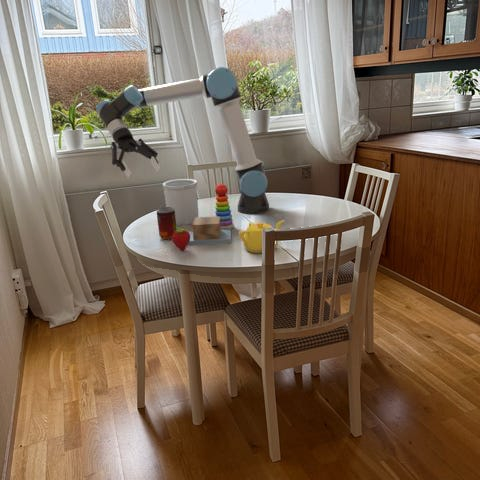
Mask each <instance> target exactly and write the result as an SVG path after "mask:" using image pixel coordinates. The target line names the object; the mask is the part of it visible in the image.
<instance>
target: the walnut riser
mask: <svg viewBox="0 0 480 480" xmlns="http://www.w3.org/2000/svg"><path fill="white" fill-rule="evenodd" d="M215 216H216V215H215ZM215 216H199V217H195V219H194V222H193V223H192V225H191V226H192V231H193V238H194V240H206V239H220V234H221V223H220V216H216V217H215Z"/></svg>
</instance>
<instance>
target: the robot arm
mask: <svg viewBox="0 0 480 480" xmlns="http://www.w3.org/2000/svg"><path fill="white" fill-rule="evenodd" d="M201 97H205V98H206V99H209V98H211V100H212V103H213V106H214V108H217V110H219V113H220V116H221V118H222V122H223V125H224V128H225V130H226V132H225V133H226V134H227V137H228V140H229V143H230V146H231V149H232V153H233V155H234V158H235V161H236V166H235V173H236V175H237V176H236V177H237V179H238V181H239V188H240V195H239V199H238V203H237V211H238V212H239V213H241V214H242V213H243V214H261V213H265V212H268V211H269V210H270V202H269V200H268V197H267V195H266V189H267V187H268V183H269V182H268V178H267V176H266V173H265V168H266V166H265V162H264V161H263V160H261V159H258V158H257V156H256V154H255V152H256V151H255V149H254V147H253V143H252V141H251V138H250V133H249V131H248V127H247V124H246V121H245V117H244V114H243V111H242V108H241V105H240V100H241V99H242V96H241V93H240V88H239V86H238V82H237V77H236V75H235V73H234V72H233V71H232V70H231V69H230V68H227V67H223V66H220V67H219V66H218V67H216V68H214V69H213V70H211V71H210V72H209V73H206V74H203V75H201V77H199V78H194V79H188V80H182V81H177V82H173V83H167V84H162V85H155V86H150V87H144V88H139V89H138V88H137V87H136V86H135V85H132V84H131V85H129V86H128V87H126V88H125V89H124V90H123V91H121V92H120V93H119V94H118V95H117V96H116V97H115V98H113V100H110V99H104V100H102V101H99V103H98V104H97V105H96V112H97V113H98V117H99V118H100V119H101V121H102V122H103V124H104V126H105V128H106V129H107V131H108V132H109V134H110V136H111V138H112V139H113V141H112V142H111V144H110V148H111V164H112V165H113V166H116V167H119V169H120V170H121V172H124V174H125V176H126V178H127V179H128V180H129V179H130V178H131V177H132V175H133V174H132V172H131V171H130V169H129V167H128V165H127V164H126V162H125V161H124V160H123V159H124V156H125V153H126V154H127V153H136V154H137V153H138V154H140V155H142V156H143V157H145V158H147V159H149V162H150V163H151V165H152V167H153V168H154V170H155V172H156V173H157V174H159V173H160V172H161V170H162V168H161V166H160V164H159V161H158V159H157V157H158V154H159V153H158V152H157V151H156V150H154V149H153V148H152V147H151V146H149V145H148V144H146V143H145V142H144V140H143V139H142V138H139V139H138V140H136V139H135V138H134V136H133V134H132V133H131V130H130V129H129V127H128V126H127V124H126V122H125V121H124V119H123V118H124V117H125V116H126V115H127V114H128V113H130V112H131V111H132V110H135V109H141V108H146V107H147V108H148V107H152V106H157V105H163V104H168V103H175V102H177V101H178V102H179V101H185V100H189V99H195V98H201ZM118 149H119V150H120V153H119V156H118V155H117V154H118V153H117V150H118ZM117 158H118V159H117Z"/></svg>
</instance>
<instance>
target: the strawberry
mask: <svg viewBox="0 0 480 480" xmlns="http://www.w3.org/2000/svg"><path fill="white" fill-rule="evenodd" d="M179 226H180V228H177V229H176V230H177V231H175V233H174V234H173V235H172V240H171V241H172V243H173V245H174V246H175V248H177V249H179V250H180V252H185V250H186V249H187V247H188V246H189V245H188V243H189V241H190V233H189V232H188V230H187V228H183V227H181V226H182V225H178V227H179Z"/></svg>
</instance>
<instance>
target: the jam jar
mask: <svg viewBox="0 0 480 480" xmlns="http://www.w3.org/2000/svg"><path fill="white" fill-rule="evenodd" d="M156 218H157V228H158V235H159V237H160V239H161V240H162V241H172V235H173V234H174V233H175V231H178V230H176V229H178V228H177V225H176V218H175V210H174V209H173V208H171V207H166V206H163V207H160V208H158V209H157V210H156Z"/></svg>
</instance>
